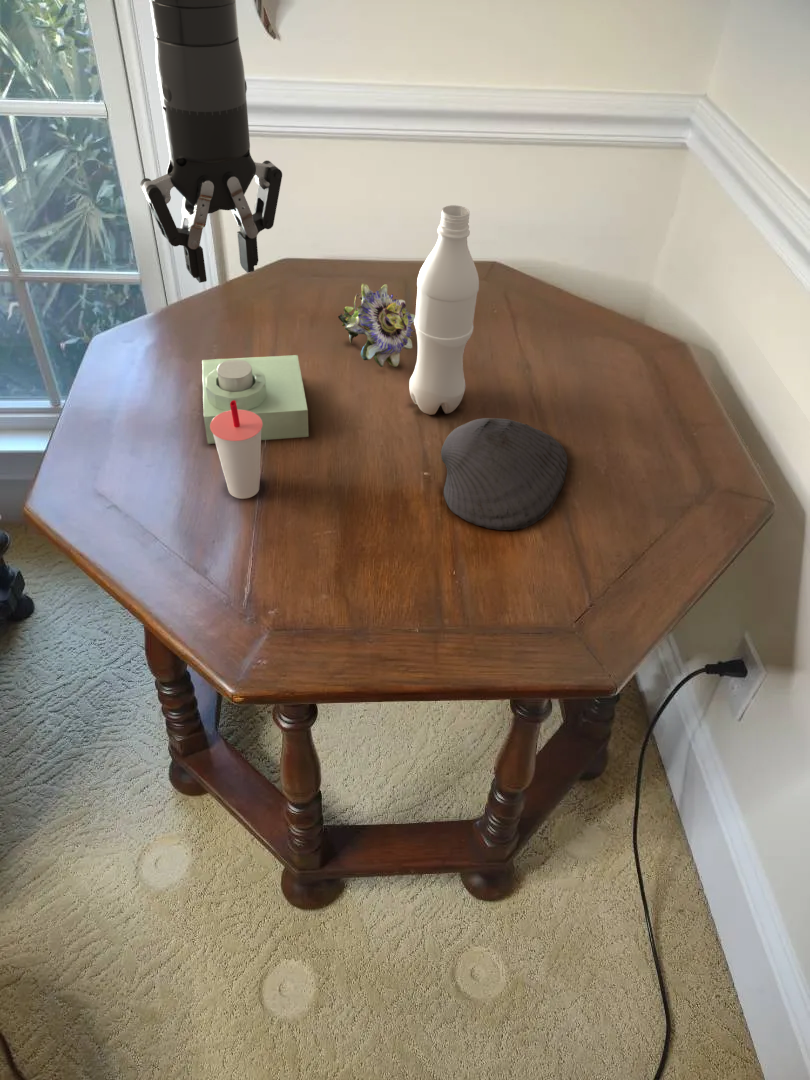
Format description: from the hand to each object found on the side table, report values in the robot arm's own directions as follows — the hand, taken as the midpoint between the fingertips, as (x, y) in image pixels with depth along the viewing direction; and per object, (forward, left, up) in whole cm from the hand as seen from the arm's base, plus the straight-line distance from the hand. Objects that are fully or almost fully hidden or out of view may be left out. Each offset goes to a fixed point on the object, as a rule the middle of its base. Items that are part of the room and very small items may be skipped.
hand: (223, 273), depth 81 cm
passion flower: (+19, +14, -20) cm, 31 cm away
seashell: (+30, -14, -20) cm, 38 cm away
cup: (0, -12, -20) cm, 23 cm away
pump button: (0, 0, -14) cm, 14 cm away
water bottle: (+25, +1, -20) cm, 32 cm away
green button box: (+2, +2, -19) cm, 20 cm away
